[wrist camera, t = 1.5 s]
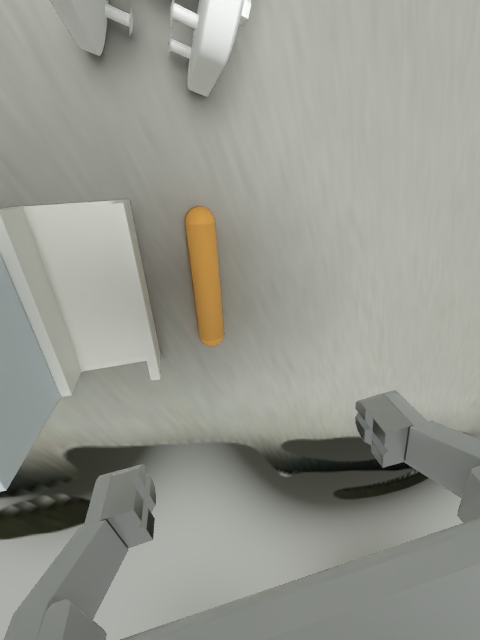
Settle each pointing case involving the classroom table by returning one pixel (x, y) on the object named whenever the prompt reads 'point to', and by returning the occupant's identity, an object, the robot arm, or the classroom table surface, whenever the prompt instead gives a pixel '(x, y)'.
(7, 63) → the classroom table surface
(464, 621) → the robot arm
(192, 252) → the rod
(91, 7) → the cable organizer
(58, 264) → the duct
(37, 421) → the cover
